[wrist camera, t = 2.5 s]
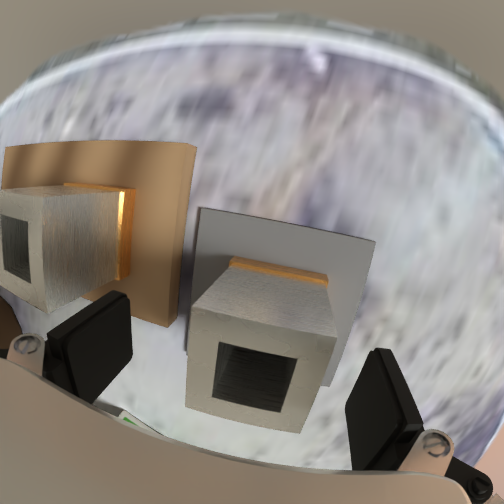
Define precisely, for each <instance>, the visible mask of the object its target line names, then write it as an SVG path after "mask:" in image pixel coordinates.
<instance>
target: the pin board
mask: <svg viewBox="0 0 504 504" xmlns="http://www.w3.org/2000/svg"><path fill="white" fill-rule="evenodd" d="M196 150H197V147H195V146H193V145H190V144H187V143H174V142H156V141H120V140H103V141H68V142H52V143H39V144H28V145H19V146H11V147H6V148H5V155H4V164H3V173H2V186H1V190H3V189H14V188H26V187H40V186H58V185H64V183H71V182H77V183H87V184H97V185H106V186H115V187H124V188H132V189H136V196H135V205H134V216H133V227H132V242H131V261H130V275H129V276H127V277H125V278H124V279H122V280H120V281H119V280H116V279H114V280H112V281H110V282H108V283H106V284H104V285H102V286H100V287H98V288H96V289H94V290H92V291H90V292H88V293H87V294H85V295H83V296H81V297H83V298H85V299H88V300H90V301H93V302H94V301H96V300H97V299H99V298H101V297H102V296H104V295H105V294H107V293H108V292H110V291H112V290H116V291H119V292H122V293H125V294H126V295H127V298H129V299H130V309H131V316H133V317H136V318H139V319H142V320H145V321H148V322H151V323H154V324H157V325H160V326H163V327H167V328H168V327H169V326H170V325H171V324H172V323H173V322H174V321H175V320H176V319H177V311H178V296H179V284H180V272H181V262H182V252H183V243H184V234H185V225H186V217H187V210H188V202H189V195H190V188H191V181H192V175H193V168H194V162H195V156H196Z"/></svg>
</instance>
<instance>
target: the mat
mask: <svg viewBox="0 0 504 504" xmlns="http://www.w3.org/2000/svg"><path fill="white" fill-rule="evenodd" d="M375 244H376V242H375V241H371V240H367V239H362V238H358V237H353V236H349V235H344V234H339V233H335V232H330V231H325V230H320V229H315V228H311V227H306V226H301V225H296V224H291V223H285V222H280V221H275V220H270V219H264V218H259V217H254V216H248V215H243V214H237V213H231V212H226V211H220V210H214V209H208V208H201V214H200V222H199V229H198V237H197V245H196V254H195V262H194V271H193V281H192V291H191V302H190V313H189V325H188V338H187V353H186V355H187V356H188V346H189V332H190V320H191V308H192V305H193V304H194V303H195V302H196V301H197V300H198V299H199V298H200V297H201V296H202V295H203V294H204V293H205V292H206V291H207V290H208V288H209V287H210V286H211V285H212V284H213V283H214V282H215V281H216V280H217V279H218V278H219V277H220V276H221V275H222V274H223V273H224V272H225V271H226V270H227V269H228V268H229V261H230V260H231V259H232V258H233V257H234V256H238V257H242V258H247V259H252V260H257V261H262V262H267V263H272V264H277V265H282V266H286V267H291V268H296V269H301V270H306V271H311V272H316V273H321V274H326V275H327V277H328V280H329V282H328V286H327V292H328V297H329V301H330V305H331V309H332V314H333V318H334V323H335V327H336V332H337V337H338V338H337V341H336V344H335V347H334V350H333V353H332V356H331V358H330V361H329V364H328V367H327V369H326V372H325V375H324V377H323V380H322V382H321V385H320V386H327V387H330V385H331V382H332V380H333V377H334V375H335V372H336V370H337V367H338V364H339V362H340V359H341V357H342V354H343V351H344V348H345V346H346V343H347V340H348V337H349V334H350V331H351V328H352V325H353V322H354V319H355V316H356V313H357V310H358V307H359V303H360V300H361V297H362V293H363V290H364V286H365V283H366V279H367V276H368V272H369V268H370V264H371V260H372V256H373V252H374V248H375Z"/></svg>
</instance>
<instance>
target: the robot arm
mask: <svg viewBox="0 0 504 504" xmlns="http://www.w3.org/2000/svg"><path fill="white" fill-rule="evenodd" d="M47 338H48V340H47V341H44V339H43V338H42V337H41V336H39V335H37V334H32V333H27V334H22V335H19V336H17V337H16V338H14V339H13V340H12V342H11V344H10V348H9V349H0V504H504V500H503V499H502V498H501V497H500V496H499V495H498V494H495V495H494V496H493V495H492V492H493V484H492V482H491V480H490V478H489V477H488V476H487V475H486V474H484V473H482V472H480V471H479V470H477V469H475V468H473V467H471V466H469V465H467V464H466V463H464V462H462V461H460V460H458V459H457V458H455V457H453V453H454V443H453V441H452V440H451V438H450V437H449V436H448V435H447V434H445V433H444V432H442V431H439V430H435V429H429V430H426V431H425V430H424V427H423V424H424V423H423V421H422V418H421V416H420V413H419V411H418V409H417V406H416V404H415V401H414V399H413V397H412V394H411V392H410V390H409V388H408V385H407V383H406V381H405V379H404V376H403V374H402V372H401V370H400V368H399V366H398V363H397V361H396V359H395V357H394V355H393V353H392V351H391V350H390V349H384V348H375V350H374V351H370V352H369V354H368V356H367V359H366V361H365V363H364V366H363V368H362V370H361V372H360V375H359V377H358V379H357V381H356V383H355V385H354V387H353V390H352V392H351V394H350V396H349V398H348V400H347V402H346V405H345V414H346V421H347V428H348V436H349V444H350V453H351V462H352V470H329V469H315V468H303V467H294V466H286V465H279V464H272V463H266V462H260V461H255V460H249V459H245V458H240V457H235V456H231V455H226V454H222V453H218V452H214V451H211V450H207V449H203V448H200V447H196V446H193V445H190V444H186V443H183V442H180V441H177V440H174V439H171V438H168V437H165V436H163V435H160V434H157V433H154V432H152V431H149V430H147V429H144V428H142V427H139V426H137V425H134V424H132V423H130V422H127V421H125V420H123V419H120V418H118V417H116V416H114V415H112V414H110V413H108V412H105V411H103V410H101V409H99V408H97V407H95V406H93V405H91V404H92V403H93V402H94V401H95V400H96V399H97V397H98V396H99V395H100V394H101V393H102V392H103V391H104V390H105V388H106V387H107V386H108V385H109V384H110V383H111V382H112V381H113V379H114V378H115V377H116V376H117V375H118V374H119V373H120V372H121V370H122V369H123V368H124V367H125V366H126V365H127V364H128V363H129V361H130V360H131V358H132V355H133V349H132V333H131V309H130V299H129V298H127V295H126V294H125V293H122V292H119V291H116V290H112V291H110V292H108V293H107V294H105V295H104V296H102V297H101V298H99V299H97V300H96V301H94V302H93V303H91V304H90V305H88V306H87V307H85V308H84V309H82V310H81V311H79V312H78V313H76V314H75V315H73V316H72V317H70V318H69V319H67V320H66V321H64V322H63V323H61V324H60V325H58V326H57V327H55V328H54V329H52V330H51V331H49V332H48V333H47Z"/></svg>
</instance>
